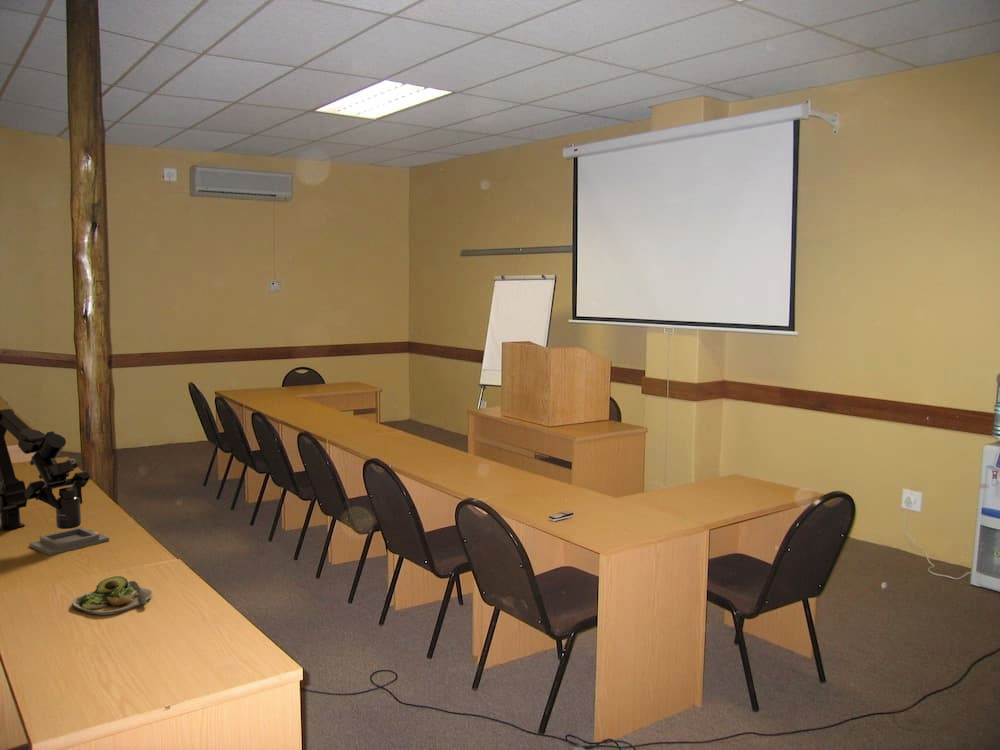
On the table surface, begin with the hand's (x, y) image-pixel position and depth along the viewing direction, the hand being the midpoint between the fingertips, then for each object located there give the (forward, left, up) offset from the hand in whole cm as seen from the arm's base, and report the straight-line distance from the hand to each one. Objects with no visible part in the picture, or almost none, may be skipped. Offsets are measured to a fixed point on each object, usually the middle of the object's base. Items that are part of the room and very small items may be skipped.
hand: (70, 506), depth 243 cm
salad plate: (+55, -13, -13) cm, 58 cm away
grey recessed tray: (-1, 0, -12) cm, 12 cm away
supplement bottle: (-1, 0, -7) cm, 7 cm away
